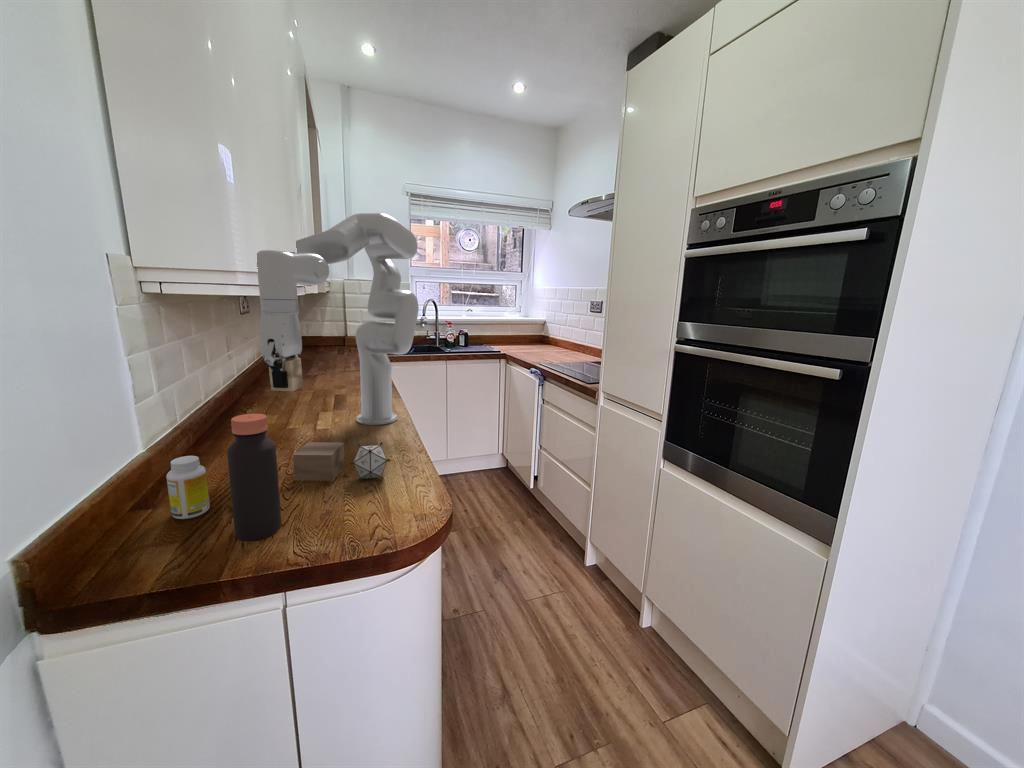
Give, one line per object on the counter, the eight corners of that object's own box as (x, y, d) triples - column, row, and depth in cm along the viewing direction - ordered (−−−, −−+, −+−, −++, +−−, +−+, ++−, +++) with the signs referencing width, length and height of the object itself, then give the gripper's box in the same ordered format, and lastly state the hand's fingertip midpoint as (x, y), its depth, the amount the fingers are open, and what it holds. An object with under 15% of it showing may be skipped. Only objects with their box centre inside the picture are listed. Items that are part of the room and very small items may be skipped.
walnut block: (309, 466, 98) (308, 442, 97) (344, 466, 99) (343, 442, 97) (294, 480, 90) (292, 454, 89) (332, 481, 91) (331, 455, 90)
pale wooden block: (282, 385, 102) (279, 357, 100) (303, 386, 102) (300, 357, 100) (271, 390, 97) (268, 361, 95) (292, 391, 97) (290, 361, 95)
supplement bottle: (215, 504, 79) (210, 453, 77) (201, 519, 73) (195, 464, 71) (181, 506, 77) (174, 454, 75) (164, 521, 72) (157, 466, 70)
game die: (375, 497, 92) (374, 474, 85) (342, 479, 93) (339, 456, 86) (398, 466, 98) (399, 443, 91) (366, 450, 99) (365, 425, 92)
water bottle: (286, 531, 71) (279, 418, 67) (240, 546, 66) (229, 426, 62) (274, 515, 76) (266, 409, 72) (230, 529, 71) (219, 416, 67)
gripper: (283, 305, 103) (289, 376, 107) (240, 308, 86) (249, 393, 91) (313, 306, 103) (318, 377, 107) (276, 310, 87) (284, 394, 91)
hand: (287, 384), depth 99 cm, fingers closed on pale wooden block, 5 cm apart
